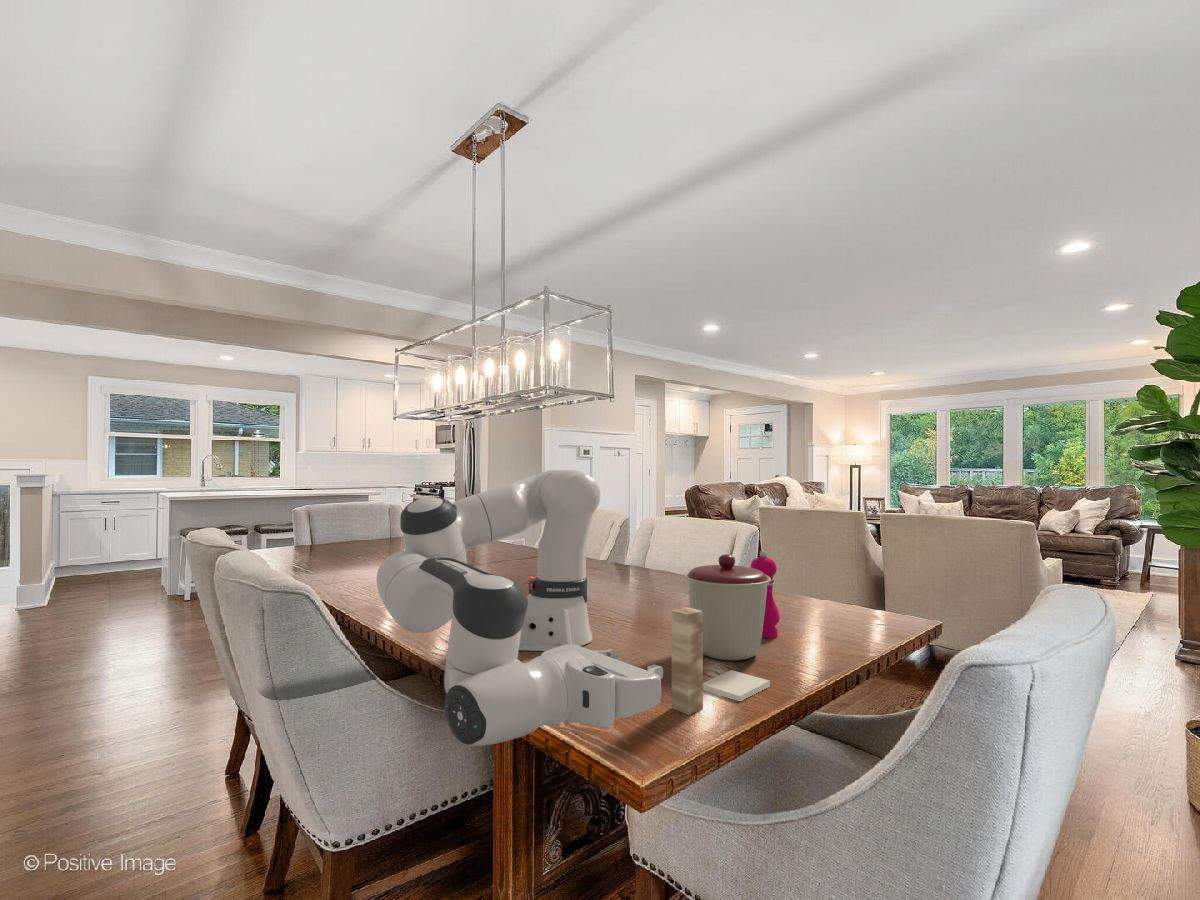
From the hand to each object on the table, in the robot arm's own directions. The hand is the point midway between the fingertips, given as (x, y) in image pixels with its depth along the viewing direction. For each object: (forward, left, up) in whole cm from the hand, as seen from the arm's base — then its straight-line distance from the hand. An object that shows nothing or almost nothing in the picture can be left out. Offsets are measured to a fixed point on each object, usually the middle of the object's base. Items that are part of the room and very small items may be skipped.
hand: (636, 662), depth 90 cm
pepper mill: (+38, +48, -10) cm, 62 cm away
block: (+9, +7, -10) cm, 15 cm away
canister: (+25, +35, -10) cm, 44 cm away
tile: (+16, +12, -10) cm, 23 cm away
